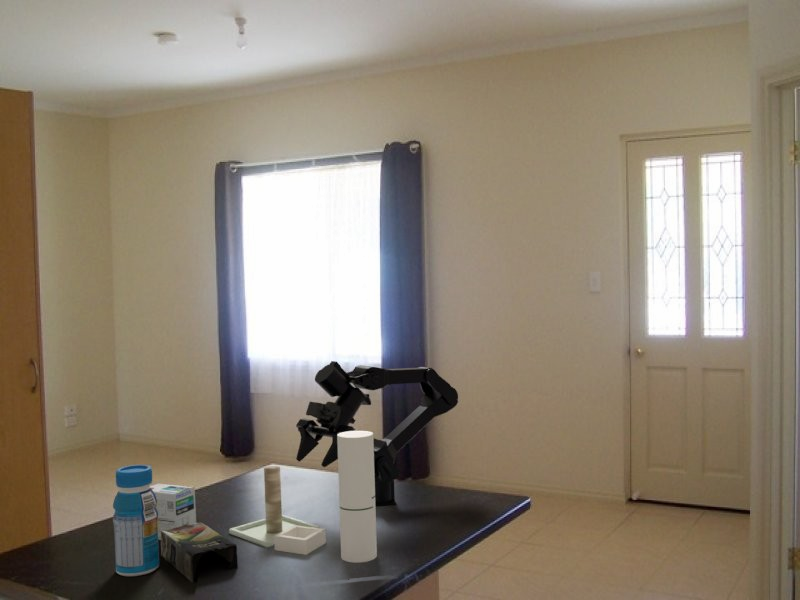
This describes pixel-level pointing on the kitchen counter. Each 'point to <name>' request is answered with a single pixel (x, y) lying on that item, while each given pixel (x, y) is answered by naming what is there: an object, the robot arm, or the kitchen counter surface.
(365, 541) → the cylindrical container
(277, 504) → the dowel
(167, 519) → the light bulb box
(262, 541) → the tray
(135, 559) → the beverage bottle
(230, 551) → the juice carton
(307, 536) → the holder
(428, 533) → the kitchen counter surface
